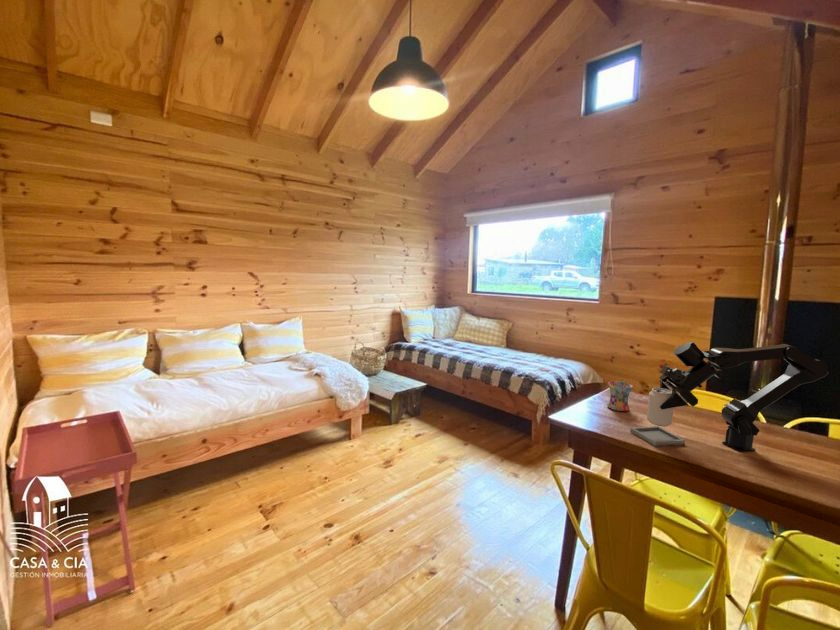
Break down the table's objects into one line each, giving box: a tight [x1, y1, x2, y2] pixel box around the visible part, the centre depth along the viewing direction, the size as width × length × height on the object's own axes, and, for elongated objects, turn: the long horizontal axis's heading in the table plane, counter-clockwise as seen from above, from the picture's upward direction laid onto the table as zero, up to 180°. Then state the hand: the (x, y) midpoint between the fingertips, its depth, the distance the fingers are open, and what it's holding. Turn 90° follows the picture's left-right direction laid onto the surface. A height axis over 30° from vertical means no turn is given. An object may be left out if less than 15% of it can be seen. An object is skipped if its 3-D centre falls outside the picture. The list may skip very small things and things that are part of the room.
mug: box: [606, 380, 634, 412], centre depth 164 cm, size 12×9×11 cm
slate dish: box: [630, 425, 686, 448], centre depth 136 cm, size 12×12×2 cm
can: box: [646, 387, 675, 428], centre depth 134 cm, size 8×8×12 cm
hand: (656, 404), depth 135 cm, fingers closed on can, 7 cm apart
